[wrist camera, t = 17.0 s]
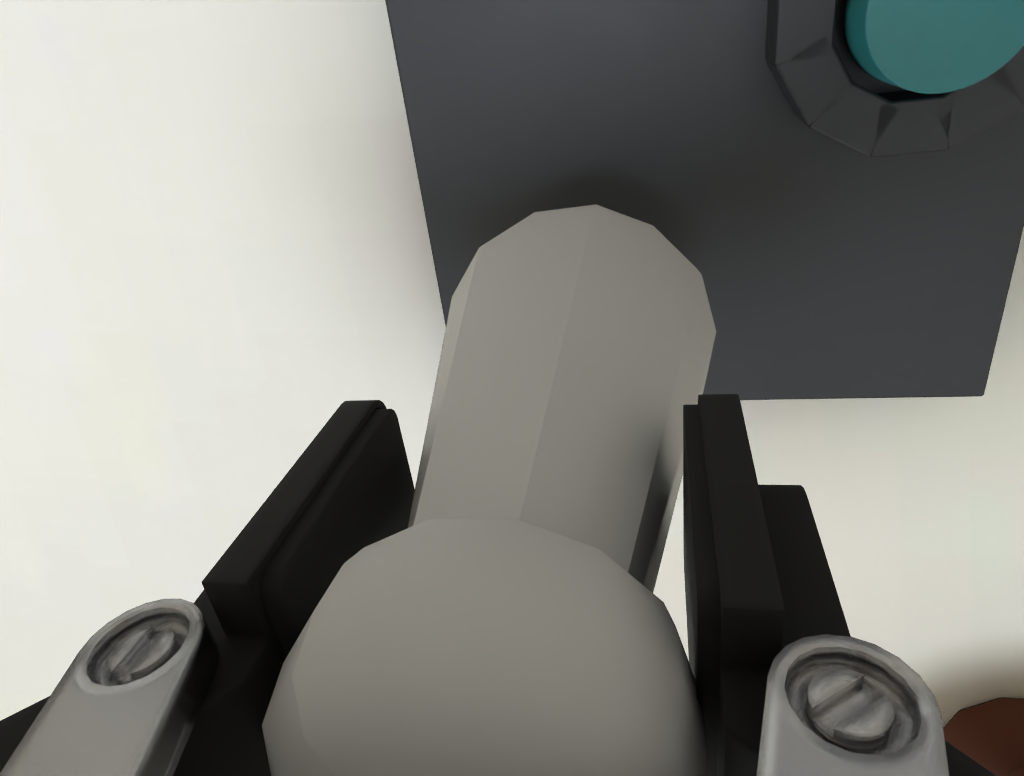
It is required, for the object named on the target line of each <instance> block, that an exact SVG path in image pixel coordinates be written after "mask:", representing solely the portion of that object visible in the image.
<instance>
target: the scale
mask: <svg viewBox="0 0 1024 776" xmlns="http://www.w3.org/2000/svg"><path fill="white" fill-rule="evenodd" d="M385 1H386V6H387V11H388V17H389V22H390V28H391V33H392V38H393V44H394V49H395V55H396V60H397V65H398V71H399V76H400V82H401V87H402V92H403V98H404V103H405V109H406V114H407V119H408V125H409V130H410V136H411V141H412V146H413V152H414V157H415V163H416V168H417V173H418V179H419V184H420V190H421V195H422V200H423V206H424V211H425V217H426V222H427V227H428V233H429V238H430V244H431V249H432V254H433V260H434V265H435V271H436V276H437V281H438V287H439V292H440V297H441V303H442V308H443V314H444V319H445V324H446V325H447V320H448V315H449V310H450V305H451V299H452V296H453V294H454V292H455V290H456V289H457V287H458V285H459V283H460V281H461V279H462V278H463V276H464V274H465V272H466V270H467V269H468V267H469V265H470V263H471V261H472V260H473V258H474V256H475V254H476V252H477V251H478V249H479V247H481V246H482V245H484V244H485V243H487V242H489V241H490V240H492V239H493V238H495V237H496V236H498V235H500V234H501V233H503V232H504V231H506V230H507V229H509V228H511V227H512V226H514V225H515V224H517V223H518V222H520V221H522V220H523V219H525V218H526V217H528V216H529V215H531V214H533V213H534V212H540V211H548V210H556V209H564V208H572V207H579V206H587V205H595V204H596V205H599V206H602V207H604V208H607V209H610V210H612V211H615V212H618V213H620V214H623V215H626V216H629V217H631V218H634V219H637V220H639V221H642V222H645V223H647V224H650V225H653V226H654V227H655V228H656V229H657V230H658V231H659V232H660V233H661V234H662V235H663V236H664V237H665V238H666V239H667V240H668V241H669V242H670V243H671V244H672V245H673V246H674V247H675V248H676V249H678V250H679V251H680V252H681V253H682V254H683V255H684V256H685V257H686V258H687V259H688V260H689V261H690V262H691V263H692V264H693V265H694V266H695V267H696V268H697V269H698V271H699V272H700V273H701V274H702V277H703V281H704V285H705V289H706V293H707V297H708V301H709V305H710V309H711V313H712V317H713V321H714V324H715V328H716V335H715V340H714V344H713V349H712V354H711V359H710V363H709V368H708V373H707V377H706V382H705V387H704V391H703V394H738V395H739V399H740V400H771V399H836V398H900V397H965V396H983V395H984V391H985V387H986V383H987V379H988V374H989V370H990V366H991V362H992V358H993V353H994V349H995V345H996V341H997V336H998V332H999V328H1000V324H1001V320H1002V315H1003V311H1004V307H1005V303H1006V298H1007V294H1008V290H1009V286H1010V281H1011V277H1012V273H1013V269H1014V265H1015V260H1016V256H1017V252H1018V248H1019V243H1020V239H1021V235H1022V231H1023V227H1024V46H1023V47H1022V48H1021V49H1020V50H1019V52H1018V53H1017V54H1016V55H1015V56H1014V57H1013V58H1012V59H1011V60H1010V61H1008V62H1007V63H1006V64H1005V65H1004V66H1002V67H1001V68H1000V69H999V70H997V71H996V72H994V73H993V74H991V75H990V76H988V77H987V78H985V79H983V80H981V81H979V82H977V83H975V84H973V85H971V86H968V87H966V88H963V89H959V90H956V91H952V92H947V93H940V94H925V93H917V92H913V91H909V90H906V89H903V88H900V87H897V86H894V85H891V84H888V83H885V82H882V81H880V80H877V79H875V78H874V77H872V76H870V75H869V74H868V73H866V72H865V71H864V70H863V69H862V68H861V67H860V66H859V65H858V63H857V62H856V61H855V59H854V57H853V56H852V54H851V52H850V49H849V47H848V44H847V39H846V35H845V11H846V5H847V1H848V0H385Z"/></svg>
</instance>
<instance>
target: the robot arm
mask: <svg viewBox="0 0 1024 776" xmlns="http://www.w3.org/2000/svg"><path fill="white" fill-rule="evenodd" d="M414 492H415V489H414V485H413V481H412V477H411V472H410V468H409V464H408V460H407V456H406V452H405V447H404V443H403V439H402V435H401V431H400V426H399V422H398V418H397V415H396V413H395V411H394V410H392V409H386V407H385V405H384V403H383V402H381V401H380V400H366V401H345V402H344V403H342V404H341V405H340V407H339V408H338V409H337V411H336V412H335V413H334V414H333V416H332V417H331V418H330V419H329V421H328V422H327V423H326V425H325V426H324V427H323V428H322V430H321V431H320V432H319V433H318V435H317V436H316V437H315V439H314V440H313V441H312V442H311V444H310V445H309V446H308V447H307V449H306V450H305V451H304V453H303V454H302V455H301V456H300V458H299V459H298V460H297V461H296V463H295V464H294V465H293V467H292V468H291V469H290V470H289V472H288V473H287V474H286V475H285V477H284V478H283V479H282V481H281V482H280V483H279V484H278V486H277V487H276V488H275V489H274V491H273V492H272V493H271V495H270V496H269V497H268V498H267V500H266V501H265V502H264V503H263V505H262V506H261V507H260V509H259V510H258V511H257V512H256V514H255V515H254V516H253V517H252V519H251V520H250V521H249V523H248V524H247V525H246V526H245V528H244V529H243V530H242V531H241V533H240V534H239V535H238V537H237V538H236V539H235V540H234V542H233V543H232V544H231V545H230V547H229V548H228V549H227V551H226V552H225V553H224V554H223V556H222V557H221V558H220V559H219V561H218V562H217V563H216V565H215V566H214V567H213V568H212V570H211V571H210V572H209V573H208V575H207V576H206V577H205V579H204V580H203V581H202V585H203V587H204V591H203V592H202V593H201V595H200V596H199V597H198V598H197V600H196V601H195V602H194V603H192V602H189V601H186V600H183V599H162V600H157V601H153V602H149V603H145V604H143V605H140V606H138V607H136V608H133V609H131V610H128V611H126V612H125V613H123V614H121V615H120V616H118V617H116V618H115V619H113V620H111V621H110V622H108V623H107V624H106V625H105V626H103V627H102V628H101V629H100V630H99V631H98V632H96V633H95V634H94V635H93V636H92V637H91V638H90V639H89V640H88V642H87V643H86V644H85V645H84V646H83V648H82V649H81V650H80V651H79V653H78V654H77V656H76V657H75V659H74V660H73V662H72V664H71V665H70V667H69V668H68V670H67V671H66V673H65V674H64V676H63V677H62V679H61V680H60V682H59V683H58V685H57V687H56V688H55V690H54V691H53V693H52V694H51V696H49V697H47V698H45V699H43V700H41V701H39V702H37V703H35V704H33V705H31V706H29V707H27V708H25V709H23V710H21V711H19V712H17V713H15V714H13V715H11V716H9V717H7V718H5V719H3V720H1V721H0V776H271V773H270V767H269V762H268V756H267V751H266V746H265V740H264V735H263V730H262V723H263V720H264V718H265V715H266V712H267V709H268V706H269V703H270V700H271V697H272V694H273V691H274V688H275V686H276V683H277V680H278V677H279V674H280V671H281V668H282V665H283V663H284V661H285V659H286V657H287V656H288V654H289V652H290V651H291V649H292V647H293V645H294V644H295V642H296V640H297V639H298V637H299V635H300V634H301V632H302V630H303V628H304V627H305V625H306V623H307V622H308V620H309V618H310V617H311V615H312V613H313V611H314V610H315V608H316V607H317V605H318V603H319V602H320V600H321V599H322V597H323V596H324V594H325V592H326V591H327V589H328V588H329V586H330V584H331V583H332V581H333V580H334V578H335V577H336V575H337V573H338V572H339V570H340V569H341V567H342V565H343V564H344V563H345V562H346V561H348V560H349V559H350V558H351V557H353V556H354V555H355V554H356V553H358V552H359V551H360V550H361V549H363V548H364V547H366V546H369V545H371V544H373V543H376V542H378V541H380V540H382V539H385V538H387V537H389V536H391V535H394V534H396V533H398V532H401V531H403V530H405V529H407V528H408V524H409V519H410V513H411V508H412V503H413V498H414ZM683 498H684V573H685V592H686V611H687V630H688V649H689V664H690V667H691V669H692V672H693V675H694V677H695V680H696V688H697V698H698V701H699V704H700V706H701V709H702V712H703V718H704V725H705V731H706V738H707V745H708V759H707V768H706V776H996V775H994V774H993V773H992V772H990V771H989V770H987V769H986V768H984V767H983V766H981V765H980V764H979V763H977V762H976V761H974V760H973V759H971V758H970V757H968V756H967V755H965V754H964V753H963V752H961V751H960V750H958V749H957V748H955V747H954V746H952V745H951V744H950V743H948V742H947V741H945V740H944V732H943V725H942V718H941V715H940V712H939V709H938V706H937V703H936V700H935V697H934V695H933V694H932V692H931V691H930V689H929V688H928V687H927V685H926V684H925V682H924V681H923V680H922V678H921V677H920V675H918V674H917V673H916V672H915V671H914V670H913V669H911V668H910V667H909V666H908V665H907V664H906V663H905V662H903V661H902V660H901V659H900V658H899V657H897V656H895V655H893V654H891V653H890V652H888V651H886V650H884V649H882V648H881V647H879V646H877V645H875V644H872V643H869V642H866V641H862V640H859V639H856V638H853V637H851V636H850V633H849V630H848V627H847V623H846V620H845V617H844V614H843V610H842V607H841V604H840V601H839V598H838V594H837V591H836V588H835V585H834V581H833V578H832V575H831V572H830V569H829V565H828V562H827V559H826V556H825V552H824V549H823V546H822V543H821V540H820V536H819V533H818V530H817V527H816V523H815V520H814V517H813V514H812V511H811V507H810V504H809V501H808V498H807V495H806V492H805V490H804V488H803V487H802V486H801V485H758V482H757V478H756V473H755V468H754V464H753V459H752V454H751V450H750V445H749V440H748V436H747V431H746V426H745V422H744V417H743V413H742V408H741V403H740V399H739V395H738V394H698V404H690V405H683Z"/></svg>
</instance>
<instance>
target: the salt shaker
mask: <svg viewBox="0 0 1024 776" xmlns="http://www.w3.org/2000/svg"><path fill="white" fill-rule="evenodd" d="M715 335H716V328H715V324H714V321H713V317H712V313H711V309H710V305H709V301H708V297H707V293H706V289H705V285H704V281H703V277H702V274H701V273H700V272H699V271H698V269H697V268H696V267H695V266H694V265H693V264H692V263H691V262H690V261H689V260H688V259H687V258H686V257H685V256H684V255H683V254H682V253H681V252H680V251H679V250H678V249H676V248H675V247H674V246H673V245H672V244H671V243H670V242H669V241H668V240H667V239H666V238H665V237H664V236H663V235H662V234H661V233H660V232H659V231H658V230H657V229H656V228H655V227H654V226H653V225H650V224H647V223H645V222H642V221H639V220H637V219H634V218H631V217H629V216H626V215H623V214H620V213H618V212H615V211H612V210H610V209H607V208H604V207H602V206H599V205H596V204H595V205H587V206H579V207H572V208H564V209H556V210H548V211H540V212H534V213H533V214H531V215H529V216H528V217H526V218H525V219H523V220H522V221H520V222H518V223H517V224H515V225H514V226H512V227H511V228H509V229H507V230H506V231H504V232H503V233H501V234H500V235H498V236H496V237H495V238H493V239H492V240H490V241H489V242H487V243H485V244H484V245H482V246H481V247H479V249H478V251H477V252H476V254H475V256H474V258H473V260H472V261H471V263H470V265H469V267H468V269H467V270H466V272H465V274H464V276H463V278H462V279H461V281H460V283H459V285H458V287H457V289H456V290H455V292H454V294H453V296H452V299H451V305H450V310H449V315H448V320H447V325H446V331H445V336H444V341H443V346H442V352H441V357H440V362H439V367H438V372H437V378H436V383H435V388H434V393H433V398H432V404H431V409H430V414H429V419H428V425H427V430H426V435H425V440H424V445H423V451H422V456H421V461H420V466H419V472H418V477H417V482H416V487H415V492H414V498H413V503H412V508H411V513H410V519H409V524H408V528H407V529H405V530H403V531H401V532H398V533H396V534H394V535H391V536H389V537H387V538H385V539H382V540H380V541H378V542H376V543H373V544H371V545H369V546H366V547H364V548H363V549H361V550H360V551H359V552H358V553H356V554H355V555H354V556H353V557H351V558H350V559H349V560H348V561H346V562H345V563H344V564H343V565H342V567H341V569H340V570H339V572H338V573H337V575H336V577H335V578H334V580H333V581H332V583H331V584H330V586H329V588H328V589H327V591H326V592H325V594H324V596H323V597H322V599H321V600H320V602H319V603H318V605H317V607H316V608H315V610H314V611H313V613H312V615H311V617H310V618H309V620H308V622H307V623H306V625H305V627H304V628H303V630H302V632H301V634H300V635H299V637H298V639H297V640H296V642H295V644H294V645H293V647H292V649H291V651H290V652H289V654H288V656H287V657H286V659H285V661H284V663H283V665H282V668H281V671H280V674H279V677H278V680H277V683H276V686H275V688H274V691H273V694H272V697H271V700H270V703H269V706H268V709H267V712H266V715H265V718H264V720H263V723H262V730H263V735H264V740H265V746H266V751H267V756H268V762H269V767H270V773H271V776H706V768H707V759H708V745H707V738H706V731H705V725H704V718H703V712H702V709H701V706H700V704H699V701H698V698H697V688H696V680H695V677H694V675H693V672H692V669H691V667H690V664H689V661H688V659H687V656H686V653H685V651H684V648H683V645H682V642H681V640H680V637H679V634H678V632H677V629H676V626H675V624H674V622H673V620H672V618H671V616H670V614H669V612H668V610H667V608H666V606H665V604H664V602H662V601H661V600H660V599H659V598H658V597H656V596H655V595H654V594H653V591H654V587H655V583H656V579H657V575H658V571H659V567H660V563H661V559H662V555H663V551H664V547H665V543H666V539H667V535H668V531H669V527H670V523H671V519H672V515H673V511H674V507H675V503H676V499H677V495H678V491H679V487H680V483H681V479H682V475H683V405H690V404H698V394H703V391H704V387H705V382H706V377H707V373H708V368H709V363H710V359H711V354H712V349H713V344H714V340H715Z"/></svg>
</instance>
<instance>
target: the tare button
mask: <svg viewBox="0 0 1024 776" xmlns="http://www.w3.org/2000/svg"><path fill="white" fill-rule="evenodd" d="M845 35H846V39H847V44H848V47H849V49H850V52H851V54H852V56H853V57H854V59H855V61H856V62H857V63H858V65H859V66H860V67H861V68H862V69H863V70H864V71H865V72H866V73H868V74H869V75H870V76H872V77H874V78H875V79H877V80H880V81H882V82H885V83H888V84H891V85H894V86H897V87H900V88H903V89H906V90H909V91H913V92H917V93H925V94H940V93H947V92H952V91H956V90H959V89H963V88H966V87H968V86H971V85H973V84H975V83H977V82H979V81H981V80H983V79H985V78H987V77H988V76H990V75H991V74H993V73H994V72H996V71H997V70H999V69H1000V68H1001V67H1002V66H1004V65H1005V64H1006V63H1007V62H1008V61H1010V60H1011V59H1012V58H1013V57H1014V56H1015V55H1016V54H1017V53H1018V52H1019V50H1020V49H1021V48H1022V47H1023V46H1024V0H848V1H847V5H846V11H845Z"/></svg>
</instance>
